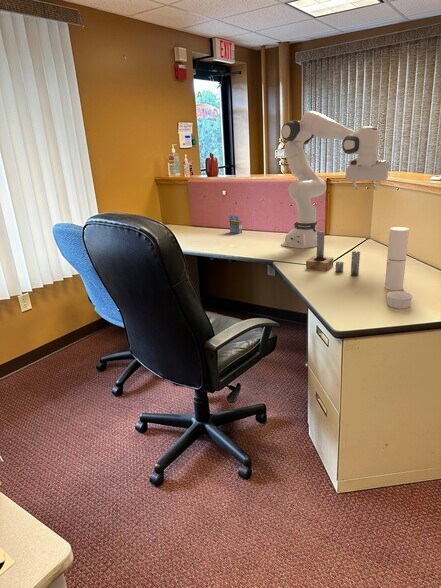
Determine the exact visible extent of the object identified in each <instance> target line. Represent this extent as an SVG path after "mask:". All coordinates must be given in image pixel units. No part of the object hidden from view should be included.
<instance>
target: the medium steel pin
mask: <svg viewBox="0 0 441 588" xmlns="http://www.w3.org/2000/svg"><path fill="white" fill-rule="evenodd" d="M360 258H361V251H357V250H354V251H352V252H351V260H350V261H351V263H350V276H352V277H358V276H359V273H360V272H359V271H360V260H361V259H360Z"/></svg>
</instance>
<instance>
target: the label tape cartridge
mask: <svg viewBox="0 0 441 588" xmlns="http://www.w3.org/2000/svg"><path fill="white" fill-rule="evenodd" d="M228 218H229V233H233V234H238V235H239V234H243V221H242V220H239V216H235V215H228Z"/></svg>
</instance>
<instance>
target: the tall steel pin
mask: <svg viewBox="0 0 441 588" xmlns="http://www.w3.org/2000/svg"><path fill="white" fill-rule="evenodd" d="M316 232H317V246H316V255H315V256H316V261H324V257H325V233H326V232H325V230H317V231H316Z"/></svg>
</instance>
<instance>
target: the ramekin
mask: <svg viewBox="0 0 441 588" xmlns="http://www.w3.org/2000/svg"><path fill="white" fill-rule="evenodd" d="M386 297H387V298H386V301H387V302H386V304H387V306H388V307H390V308H392V309H396V310H397V309H398V310H405V309H408V308H410V307H411V302H412V298H413V294H411V293H410V292H407V291H401V290H391V291H388V292H387V293H386Z"/></svg>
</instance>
